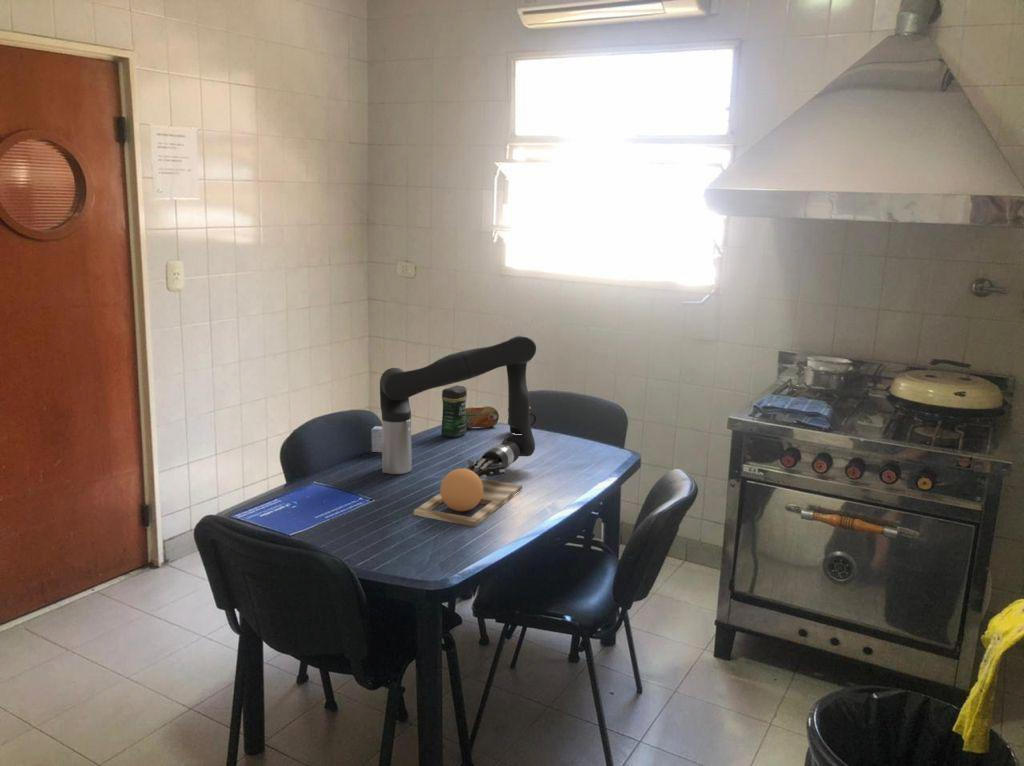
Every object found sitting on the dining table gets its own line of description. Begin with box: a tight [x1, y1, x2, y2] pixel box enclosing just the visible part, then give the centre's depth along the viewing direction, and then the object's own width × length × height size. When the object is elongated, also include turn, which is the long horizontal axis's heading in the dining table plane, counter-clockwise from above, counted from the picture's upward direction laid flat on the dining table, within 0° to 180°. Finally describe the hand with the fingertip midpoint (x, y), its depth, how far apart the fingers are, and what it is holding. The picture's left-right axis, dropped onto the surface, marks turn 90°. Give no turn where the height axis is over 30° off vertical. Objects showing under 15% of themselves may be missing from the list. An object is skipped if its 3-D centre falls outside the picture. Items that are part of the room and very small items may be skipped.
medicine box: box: [370, 425, 382, 453], centre depth 279 cm, size 8×4×9 cm, turn 84°
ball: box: [440, 468, 483, 512], centre depth 227 cm, size 12×12×12 cm
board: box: [413, 477, 523, 527], centre depth 234 cm, size 32×19×2 cm, turn 156°
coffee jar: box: [441, 385, 468, 438], centre depth 300 cm, size 10×8×19 cm
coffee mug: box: [509, 406, 537, 434], centre depth 304 cm, size 12×9×10 cm
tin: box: [466, 405, 500, 429], centre depth 312 cm, size 15×3×8 cm, turn 105°
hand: (472, 475), depth 234 cm, fingers closed
